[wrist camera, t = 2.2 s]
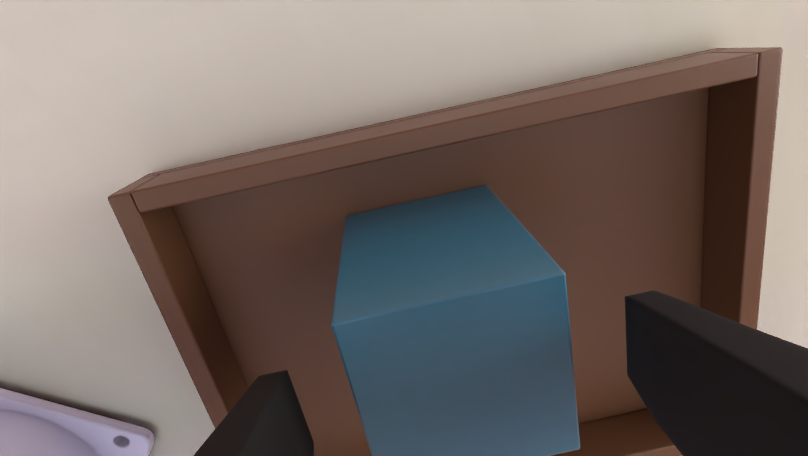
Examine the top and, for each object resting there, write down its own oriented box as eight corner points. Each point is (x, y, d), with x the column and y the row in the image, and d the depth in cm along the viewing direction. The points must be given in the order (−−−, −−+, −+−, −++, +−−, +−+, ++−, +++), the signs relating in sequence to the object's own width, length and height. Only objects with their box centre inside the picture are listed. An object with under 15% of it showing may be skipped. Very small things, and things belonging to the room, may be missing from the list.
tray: (280, 488, 18) (269, 546, 16) (147, 174, 14) (105, 197, 11) (702, 396, 18) (746, 442, 16) (717, 48, 13) (783, 46, 11)
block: (377, 334, 16) (382, 493, 10) (345, 215, 14) (330, 323, 8) (504, 306, 16) (581, 450, 10) (486, 184, 14) (566, 272, 8)
